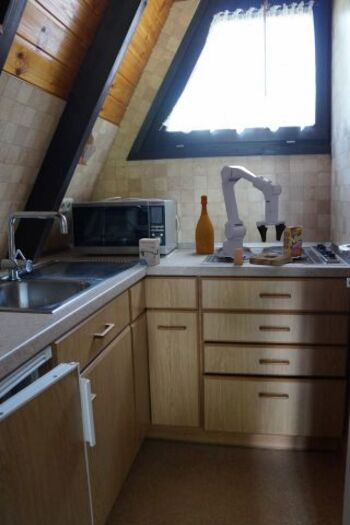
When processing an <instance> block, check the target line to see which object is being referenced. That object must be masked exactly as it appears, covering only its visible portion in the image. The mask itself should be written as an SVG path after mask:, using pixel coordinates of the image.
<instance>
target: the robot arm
mask: <svg viewBox="0 0 350 525" xmlns="http://www.w3.org/2000/svg"><path fill="white" fill-rule="evenodd" d="M219 173H220V177H221V178H220V179H221V190H222V194H223V201H224V205H225V211H226V215H227V216H226V217H227V221H226V222H225V224H224V231H223V232H224V236H225V239H224V240H223V241H222V256H231V257H234V249H243V250H244V239H245V236H246V235H247V228H246V226H245V224H244V221H243V220H242V219H240V214H239V210H238V204H237V199H236V192H235V188H234V186H235V185H236V184H237V183H238V182H239V181H240V180H241V179H244V180H246V181H248V182H250V183H251V184H252V187H254V188H255V189H256V190H258V191H260V192H261V193H262V194H263V196H264V198H263V199H264V220H261V221H260V220H259V221H256V222H255V223H256V224H255V225H256V229H257V231H258V232H259V235H260V238H261V242H262V243H267V234H268V233H267V232H268V226H274V227H275V240H276V242H280V241H281V240H282V236H283V234H284V229H285V228H286V227H287V219H279V201H280V200H279V197H280V195H281V193H282V190H283V188H282V185H280V183H278V182H273V181H272V180H271V179H267V178H266V177H265V176H264V174H263V175H255V174H254V173H253V172H251V171H250V170H248V169H246V167H244V166H242V165H240V164H237V165H223V167H222V169H221V170H220V172H219ZM243 255H244V256H246V257H247V255H245V254H243Z"/></svg>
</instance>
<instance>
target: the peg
mask: <svg viewBox="0 0 350 525" xmlns="http://www.w3.org/2000/svg"><path fill="white" fill-rule="evenodd" d="M243 255H244V248H243V249H234V258H233V265H234V266H243V264H244V263H243V262H244V261H243V258H244V257H243Z"/></svg>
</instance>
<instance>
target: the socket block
mask: <svg viewBox="0 0 350 525" xmlns="http://www.w3.org/2000/svg"><path fill="white" fill-rule="evenodd" d="M248 260H249V264H254V265H263V266H264V265H265V266H270V267H271V266H273V267H280V266H282V265H285V264H287V263H289V262H292V259H291V255H283V254H280V253H279V254H276V253H269V252H268V253H266V252H263V253H260V254H257V255H254V256H251V257H249V259H248Z"/></svg>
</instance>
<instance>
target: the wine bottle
mask: <svg viewBox="0 0 350 525" xmlns="http://www.w3.org/2000/svg"><path fill="white" fill-rule="evenodd" d="M200 204H201V205H200V206H201V210H200V214H199V215H200V216H199V218H198V221H197V224H196V225H195V226H196V227H195V230H194V233H195V235H194V237H195V238H194V239H195V252H196V254H199V255H210V254H213V253H214V252H215V230H214V225H213V223H212V220H211V218H210V217H209V216H210V215H209V212H208V195H206V194H202V195H201V196H200Z"/></svg>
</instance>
